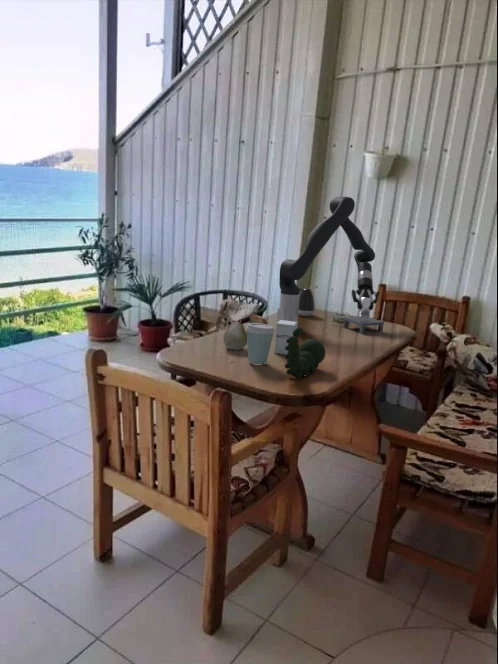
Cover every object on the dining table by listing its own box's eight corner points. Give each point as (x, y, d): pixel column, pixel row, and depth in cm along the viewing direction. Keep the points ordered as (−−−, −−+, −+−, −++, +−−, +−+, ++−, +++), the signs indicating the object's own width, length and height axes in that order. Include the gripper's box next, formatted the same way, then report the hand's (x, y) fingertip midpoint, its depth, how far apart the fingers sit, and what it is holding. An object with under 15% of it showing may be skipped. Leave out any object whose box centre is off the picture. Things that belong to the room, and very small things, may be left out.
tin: (247, 330, 239) (248, 312, 237) (253, 329, 240) (254, 312, 238) (261, 338, 226) (262, 319, 224) (268, 337, 227) (269, 319, 225)
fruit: (250, 347, 209) (251, 319, 207) (244, 353, 201) (245, 324, 198) (226, 344, 212) (228, 316, 209) (219, 350, 203) (220, 321, 200)
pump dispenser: (304, 312, 287) (306, 286, 283) (317, 316, 279) (320, 289, 275) (291, 314, 280) (293, 287, 277) (305, 318, 273) (307, 290, 269)
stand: (361, 333, 244) (362, 323, 243) (342, 327, 256) (343, 317, 254) (383, 331, 251) (384, 321, 250) (363, 325, 262) (364, 316, 261)
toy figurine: (301, 388, 170) (331, 364, 190) (304, 334, 164) (335, 315, 184) (276, 382, 175) (308, 359, 195) (278, 329, 168) (311, 311, 189)
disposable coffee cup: (255, 357, 196) (258, 319, 193) (278, 363, 190) (280, 325, 186) (238, 362, 188) (240, 323, 185) (260, 369, 182) (263, 329, 178)
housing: (363, 317, 248) (365, 298, 246) (356, 315, 253) (358, 296, 250) (372, 317, 251) (374, 298, 248) (364, 314, 255) (366, 296, 253)
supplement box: (273, 353, 203) (275, 322, 200) (278, 349, 210) (280, 319, 207) (291, 356, 201) (294, 325, 198) (295, 351, 208) (297, 321, 205)
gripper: (351, 275, 255) (352, 303, 246) (380, 277, 254) (381, 305, 245) (349, 284, 261) (349, 312, 253) (377, 286, 260) (378, 314, 251)
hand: (365, 308), depth 249 cm, fingers closed on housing, 5 cm apart
